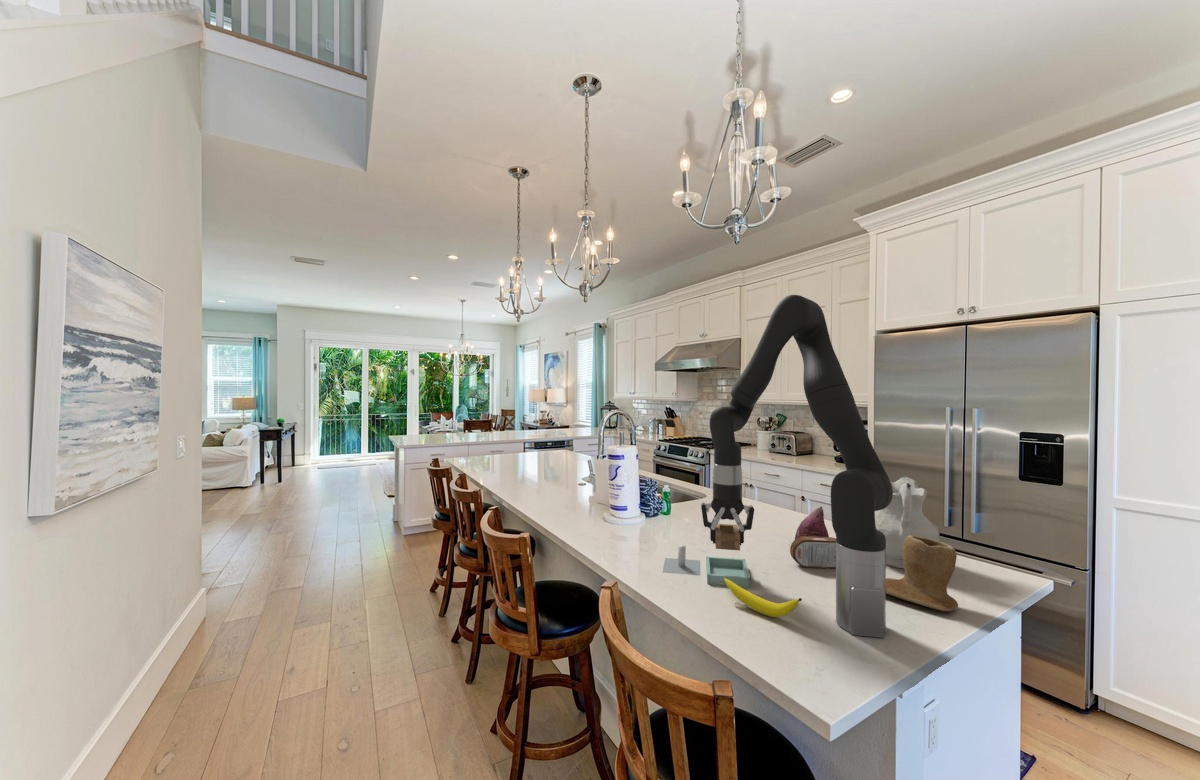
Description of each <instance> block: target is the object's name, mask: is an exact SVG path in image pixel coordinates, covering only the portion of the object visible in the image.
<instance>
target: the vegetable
mask: <svg viewBox="0 0 1200 780" xmlns="http://www.w3.org/2000/svg"><path fill="white" fill-rule="evenodd" d="M824 513H825V512H824V509H823V506H820V507H817V508H815V509H814V510H813V511H812V512H811V513H809V514H808V515H807V516H806V517H805V518H804V519H803V520H802V521H801V522H800V523H799V526H798V527H797V528H796V529H797V530H796V531H795V537H794V540H795V539H797V538H799V537H802V536H812V537H830V536H829V532H828V529H827V525H826V523H825V518H824V516H825V514H824Z"/></svg>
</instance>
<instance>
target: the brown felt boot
mask: <svg viewBox="0 0 1200 780" xmlns="http://www.w3.org/2000/svg"><path fill="white" fill-rule="evenodd" d="M902 556H903V563H904V568H903V569H904V576H903V578H900V579H897V578H890V577H886V594H887V595H888V596H892V597H894V598H899V599H901V600H904V601H907V602H910V603H913V604H916V605H920V606H923V607H926V608H929V609H933V610H938V611H941V612H952V611H955V610H957V608H958V606H959V603H958V601H957V600H956V599H955V598H954V597H952V596H950V595H949V594H948V590H947V589H948V585H949V582H950V580H951V579H952V576H953V574H954V572H955V568H956V563H957V557H958V556H957V552H956V549H955V547H953V546H952V545H950V544H947V543H945V542H942V541H940V540H939V541H935V540H932V539H927V538H923V537H917V536H912V535H909V536H907V537H906V538H905V540H904V542H903V548H902Z"/></svg>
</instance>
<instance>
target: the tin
mask: <svg viewBox="0 0 1200 780" xmlns="http://www.w3.org/2000/svg"><path fill="white" fill-rule="evenodd" d="M789 549H790V550H789V552H790V556H791V558H792V559H793V560H794V561H795V562H796V563H797V564H798V565H799V566H800V567H804V568H811V569H831V570H834V569H835V570H836V537H831V536H829V537H812V536H802V537H799V538H797V539H795V538H794V540H793V541H792V542H791V544H790V548H789Z"/></svg>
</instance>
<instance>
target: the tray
mask: <svg viewBox="0 0 1200 780" xmlns="http://www.w3.org/2000/svg"><path fill="white" fill-rule="evenodd" d="M705 567H706V568H705V571H706V584H707V585H717V586H719V585H720V586H727V585H726V583H725V580H724V578H726V579H728V580H730V581H732V582H733V583H735V584H736V585H738V586H739V587H741V588H751V587H752V586H751V585H752V583H751V575H750V572H749V571H750V570H749V568H748V565H747V561H746V559H745V558H744V559H743V558H731V557H718V556H706V557H705Z"/></svg>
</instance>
